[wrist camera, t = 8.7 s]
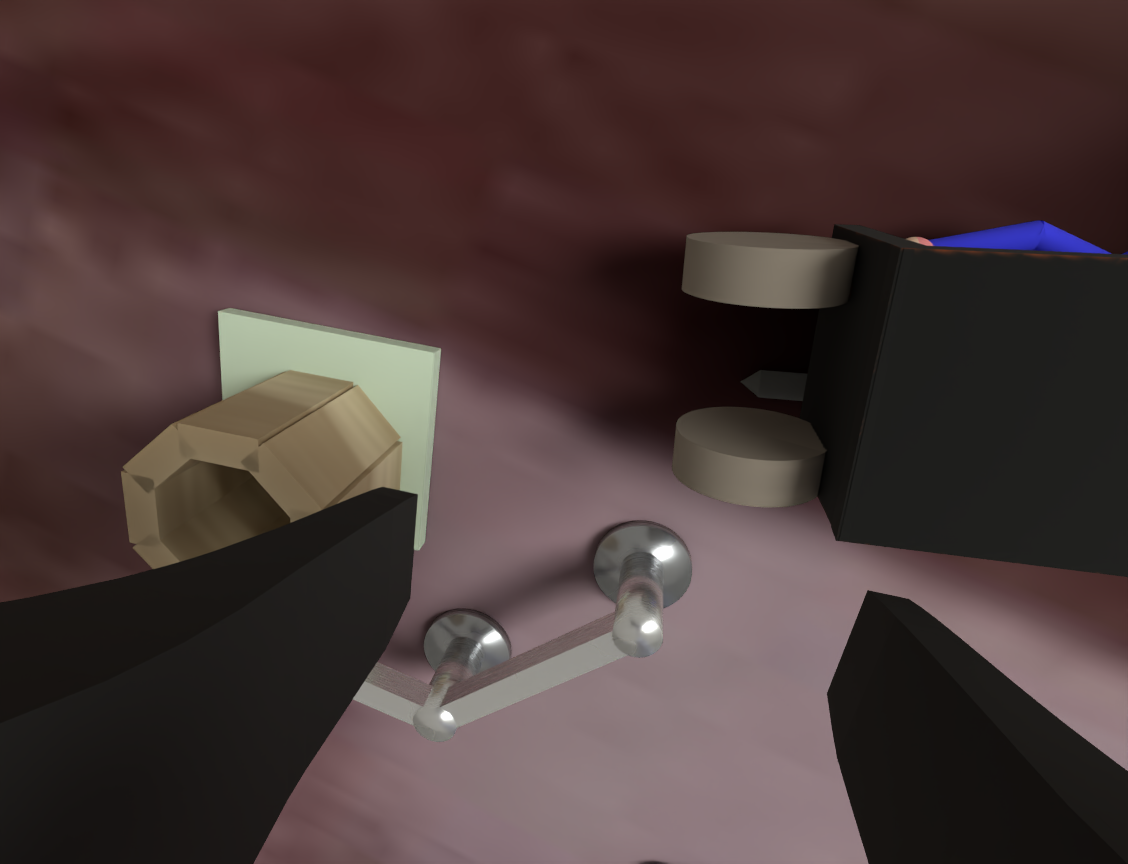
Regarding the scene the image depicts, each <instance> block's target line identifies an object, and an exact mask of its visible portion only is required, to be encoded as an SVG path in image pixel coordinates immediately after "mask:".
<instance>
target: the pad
mask: <svg viewBox="0 0 1128 864" xmlns="http://www.w3.org/2000/svg"><path fill="white" fill-rule="evenodd" d="M218 321H219V341H220V361H221V381H222V400H224V399H227V398H229V397H231V396H233V395H235V394H237V393H239V392H242V391H244V390H246V389H248V388H250V387H252V386H254V385H257V384H259V383H261V382H263V381H265V380H267V379H270V378H272V377H274V376H276V375H278V374H280V373H282V372H285V371H286V372H287V371H289V370H293V371H298V372H304V373H309V374H314V375H319V376H325V377H330V378H335V379H340V380H345V381H351V382H353V388H354V387H355V386H357V385H358V386H359V387H360V388H361V389H362V390H363V392H364V393H365V394H366V395H367V397H368V398H369V399H370V400H371V401H372V403H373V404H374V405H375V406H376V408H377V409H378V410H379V411H380V412H381V414H382V415H383V416H384V417H385V418H386V420H387V421H388V422H389V423H390V425H391V426H392V427H393V428H394V429H395V431H396V432H397V433H398V434H399V436H400V437H401V438H400V439H399V440H398V441H400V442H403V444H402V463H401V481H400V490H401V491H405V492H410V493H415V494H418V500H417V514H416V527H415V540H414V550H418V551H419V550H420V548H421V547H422V545H423V544H424V543H425V537H426V525H427V513H428V501H429V489H430V477H431V464H432V452H433V440H434V428H435V416H436V404H437V392H438V380H439V368H440V355H441V348H436V347H431V346H426V345H421V344H416V343H410V342H405V341H400V340H395V339H390V338H384V337H379V336H374V335H369V334H364V333H358V332H353V331H348V330H343V329H337V328H332V327H327V326H322V325H317V324H311V323H306V322H301V321H296V320H291V319H285V318H280V317H275V316H270V315H265V314H259V313H254V312H249V311H244V310H239V309H233V308H228V309H224V310H221V311H218Z"/></svg>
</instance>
